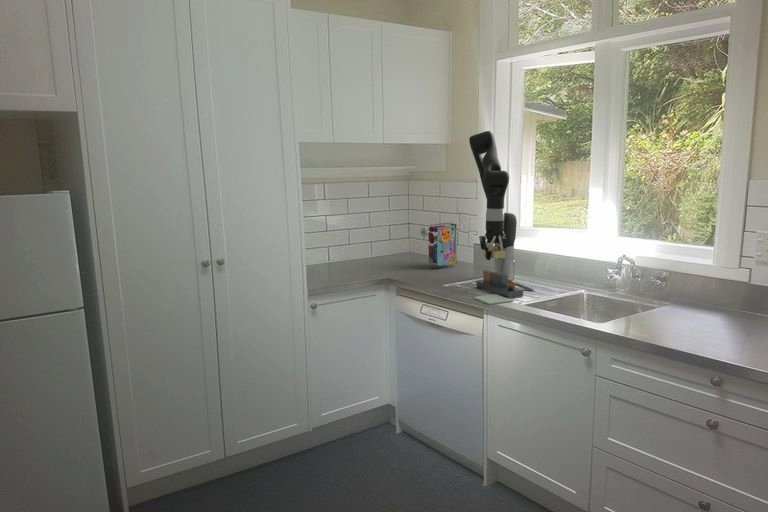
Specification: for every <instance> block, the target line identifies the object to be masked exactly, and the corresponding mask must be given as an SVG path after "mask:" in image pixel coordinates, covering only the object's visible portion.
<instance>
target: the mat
mask: <svg viewBox="0 0 768 512" xmlns="http://www.w3.org/2000/svg"><path fill="white" fill-rule="evenodd" d="M472 298H473V299H474V300H477V301H479V302H481V303H484V304H486V305H489V306H491V305H498V304H505V303H513V302H514V300H513V299H512V298H510V299H508V298H506V297H503V296H500V295H497V294H494V293H492V294H487V295H486V294H485V295H479V296H473V297H472Z"/></svg>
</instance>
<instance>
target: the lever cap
mask: <svg viewBox="0 0 768 512" xmlns="http://www.w3.org/2000/svg"><path fill="white" fill-rule="evenodd" d="M490 252H491V259H494V260H495V259H497V258H505V250H501V249H497V248H495V245H493V246H492V247H491V250H490ZM482 256H485V250H482Z"/></svg>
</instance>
